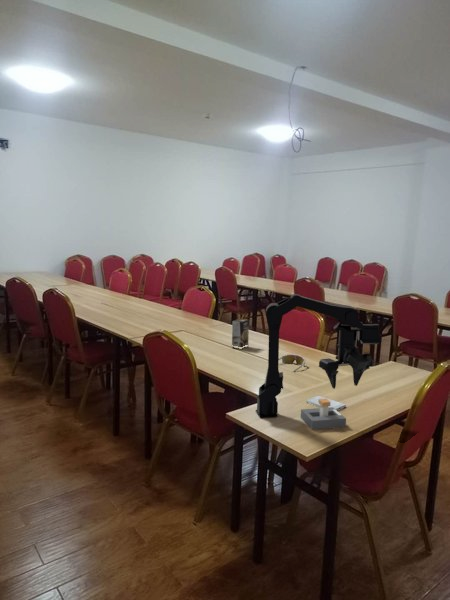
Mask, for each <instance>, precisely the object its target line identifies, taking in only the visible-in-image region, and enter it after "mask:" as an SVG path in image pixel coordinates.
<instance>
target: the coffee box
mask: <svg viewBox="0 0 450 600" xmlns="http://www.w3.org/2000/svg"><path fill="white" fill-rule="evenodd" d="M249 325H250V320H249V319H243V318H242V319H240V318H239V319H235V320H232V329H231V331H232V333H231V335H232V336H231V346H232V345H233V346H238V347H243V346H245V345H248V346H249V339H250V338H249V334H250V332H249V330H250V326H249Z"/></svg>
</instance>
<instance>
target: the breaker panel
mask: <svg viewBox="0 0 450 600" xmlns="http://www.w3.org/2000/svg"><path fill="white" fill-rule="evenodd" d="M300 418H301V420H302V421H303V422H305V424H306V425H307V426H308V427H309V428H310V430H313V431H314V430H325V429H339V428H340V429H341V428H346V426H347V418H346V417H345V416H344V415H343V414H341V412H339V410H338V411H337V410H336V409H334V408H333V407H330V408H328V416H320V407H317V408H303V409H302V408H301V409H300Z"/></svg>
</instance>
